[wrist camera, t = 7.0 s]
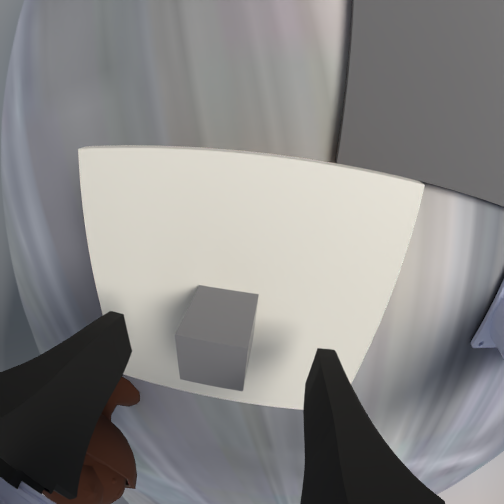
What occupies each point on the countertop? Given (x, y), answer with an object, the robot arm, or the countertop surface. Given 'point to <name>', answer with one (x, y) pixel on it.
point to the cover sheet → (242, 263)
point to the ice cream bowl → (106, 456)
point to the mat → (427, 93)
